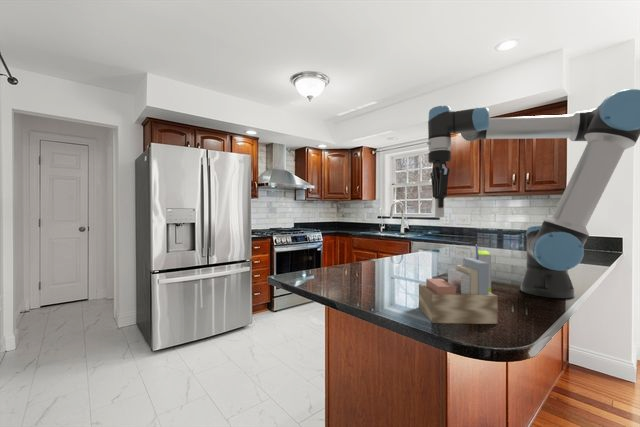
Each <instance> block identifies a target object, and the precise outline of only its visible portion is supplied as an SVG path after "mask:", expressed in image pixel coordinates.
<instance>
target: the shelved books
mask: <svg viewBox="0 0 640 427" xmlns="http://www.w3.org/2000/svg"><path fill="white" fill-rule="evenodd" d="M462 262H463V264H456V265H455V269H458V270H460V271H462V272H464V273H466V274H469V275H470V295H489V263H486V262H483V261H480V260H476V258H473V257H463V258H462Z"/></svg>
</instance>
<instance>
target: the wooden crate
mask: <svg viewBox="0 0 640 427" xmlns="http://www.w3.org/2000/svg"><path fill="white" fill-rule="evenodd" d="M418 309H419V310H420V311H421V310H422V311H421V312H422V313H423V314H424V315H425V316H426V317H427V319H429V320H430V322H432V324H472V325H473V324H477V325H478V324H479V325H482V324H484V325H485V324H486V325H487V324H488V325H489V324H490V325H491V324H492V325H494V324H495V325H496V324H497V325H498V295H496V294H494V293H492V292H491V293H490V292H489V295H466V294H435V293H434V292H433V291H431V290H430V289H429V288H427V287H426V284H424V283H418Z"/></svg>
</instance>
